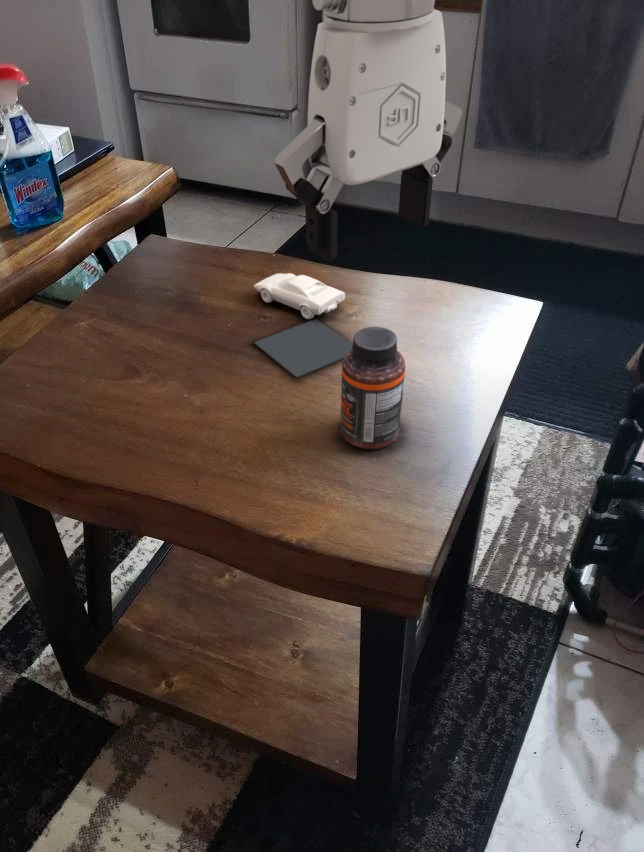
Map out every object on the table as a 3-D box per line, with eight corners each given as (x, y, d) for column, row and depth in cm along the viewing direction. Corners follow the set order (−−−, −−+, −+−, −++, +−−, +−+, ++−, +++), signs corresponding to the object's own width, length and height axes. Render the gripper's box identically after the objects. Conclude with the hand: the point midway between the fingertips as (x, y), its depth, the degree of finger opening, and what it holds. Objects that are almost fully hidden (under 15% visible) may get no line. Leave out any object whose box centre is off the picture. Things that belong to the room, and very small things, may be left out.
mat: (315, 320, 93) (315, 318, 92) (360, 351, 87) (360, 350, 87) (254, 344, 89) (254, 342, 89) (296, 378, 84) (296, 376, 84)
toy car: (278, 282, 100) (277, 258, 98) (349, 309, 94) (349, 284, 91) (250, 297, 97) (248, 272, 95) (320, 326, 91) (321, 300, 89)
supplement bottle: (331, 423, 78) (332, 327, 70) (384, 410, 79) (391, 314, 71) (353, 458, 73) (357, 360, 66) (409, 444, 74) (419, 346, 67)
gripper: (307, 26, 45) (310, 286, 57) (512, -19, 52) (476, 224, 63) (242, 8, 50) (257, 251, 62) (437, -31, 56) (417, 197, 68)
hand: (368, 237), depth 63 cm, fingers open, 9 cm apart
